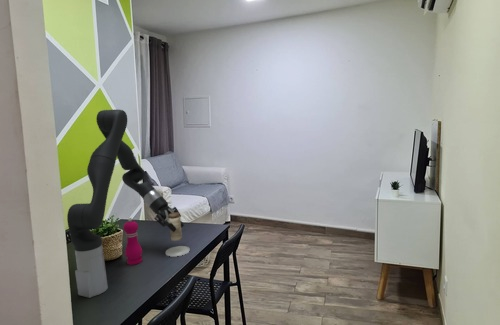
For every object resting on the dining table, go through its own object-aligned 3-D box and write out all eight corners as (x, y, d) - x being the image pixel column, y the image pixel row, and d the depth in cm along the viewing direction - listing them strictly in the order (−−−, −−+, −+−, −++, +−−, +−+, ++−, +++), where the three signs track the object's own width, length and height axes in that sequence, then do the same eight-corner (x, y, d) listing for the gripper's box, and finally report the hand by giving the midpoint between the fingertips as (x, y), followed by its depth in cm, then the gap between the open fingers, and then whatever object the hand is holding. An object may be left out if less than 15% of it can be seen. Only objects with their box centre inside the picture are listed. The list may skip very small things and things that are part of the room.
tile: (180, 258, 156) (180, 256, 155) (160, 255, 160) (160, 253, 160) (194, 248, 165) (194, 247, 165) (175, 246, 170) (175, 245, 170)
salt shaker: (177, 241, 159) (175, 215, 157) (168, 240, 161) (166, 215, 159) (184, 237, 163) (182, 212, 161) (175, 236, 165) (173, 211, 163)
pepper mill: (138, 265, 150) (133, 220, 148) (122, 265, 152) (117, 220, 149) (146, 258, 157) (141, 215, 155) (131, 258, 159) (126, 215, 156)
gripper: (148, 200, 156) (173, 228, 153) (169, 192, 169) (192, 218, 165) (141, 211, 159) (164, 239, 156) (161, 202, 172) (184, 228, 168)
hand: (178, 228), depth 160 cm, fingers closed on salt shaker, 5 cm apart
